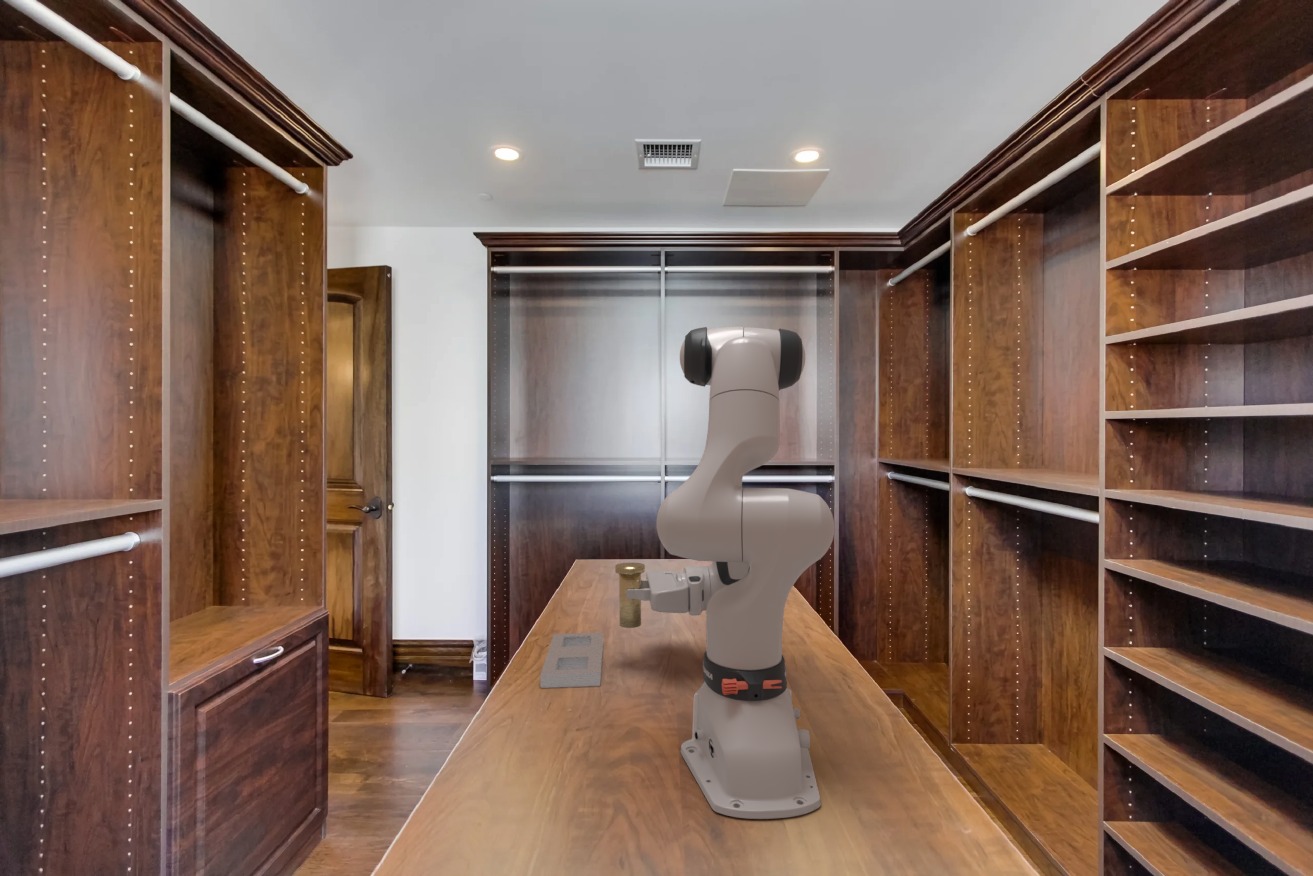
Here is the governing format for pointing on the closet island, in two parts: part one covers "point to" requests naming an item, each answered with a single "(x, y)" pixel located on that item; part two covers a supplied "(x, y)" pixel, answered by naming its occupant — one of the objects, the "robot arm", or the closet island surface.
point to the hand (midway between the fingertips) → (625, 589)
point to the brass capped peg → (627, 579)
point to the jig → (573, 661)
